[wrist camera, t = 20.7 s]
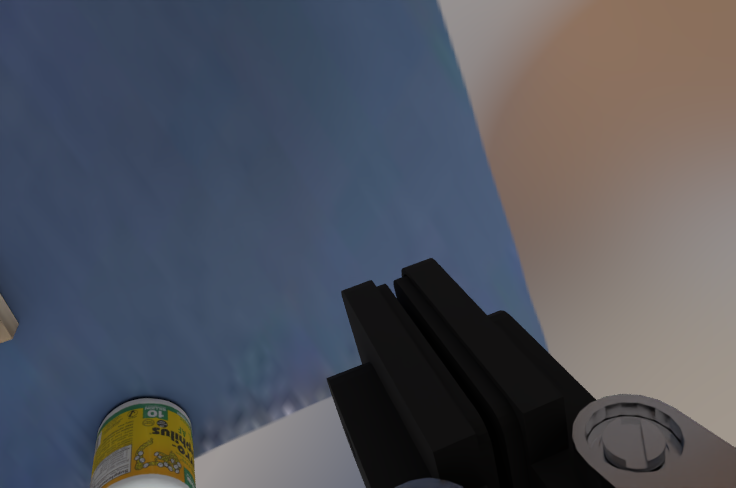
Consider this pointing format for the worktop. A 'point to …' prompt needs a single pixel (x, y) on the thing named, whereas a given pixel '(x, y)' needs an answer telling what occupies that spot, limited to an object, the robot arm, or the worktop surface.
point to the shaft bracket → (6, 322)
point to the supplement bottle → (144, 447)
